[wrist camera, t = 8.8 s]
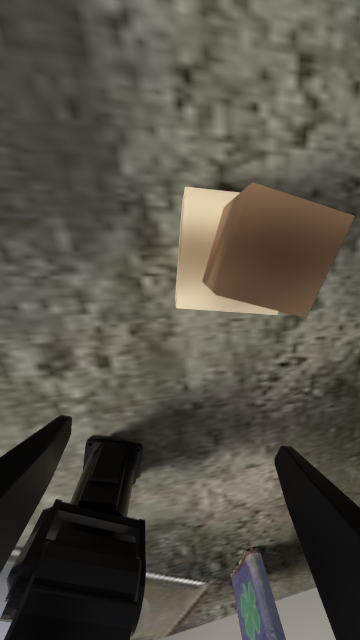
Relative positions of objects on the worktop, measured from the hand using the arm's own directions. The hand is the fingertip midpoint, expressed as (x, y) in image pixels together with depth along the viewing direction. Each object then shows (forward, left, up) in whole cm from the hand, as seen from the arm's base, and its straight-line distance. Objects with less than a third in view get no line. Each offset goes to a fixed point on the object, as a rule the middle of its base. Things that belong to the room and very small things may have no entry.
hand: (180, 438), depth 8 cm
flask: (-38, -20, -12) cm, 45 cm away
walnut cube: (+8, -3, -8) cm, 12 cm away
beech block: (+8, -3, -12) cm, 15 cm away
